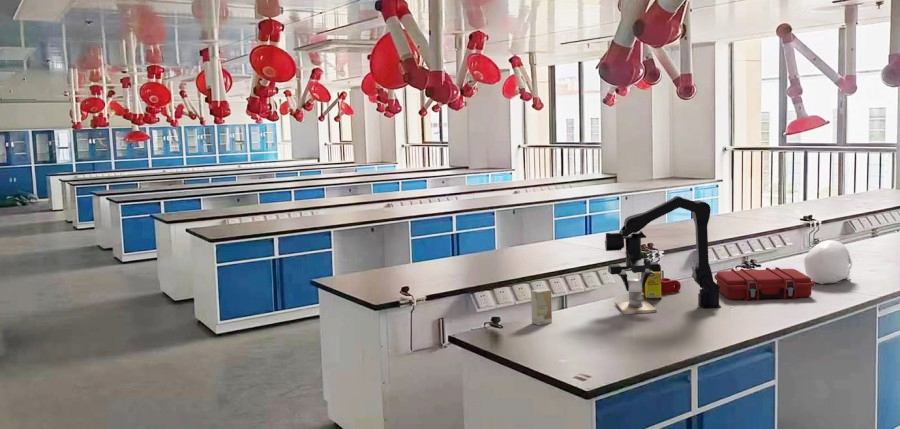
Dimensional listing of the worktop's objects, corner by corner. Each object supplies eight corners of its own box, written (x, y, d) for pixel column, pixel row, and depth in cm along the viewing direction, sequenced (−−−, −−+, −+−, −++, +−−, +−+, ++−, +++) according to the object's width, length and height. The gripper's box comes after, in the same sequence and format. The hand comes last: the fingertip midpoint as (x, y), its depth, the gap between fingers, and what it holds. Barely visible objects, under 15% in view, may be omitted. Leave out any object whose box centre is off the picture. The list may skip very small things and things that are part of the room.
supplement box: (661, 299, 290) (661, 272, 289) (646, 299, 291) (645, 272, 290) (660, 296, 296) (659, 269, 294) (645, 296, 297) (644, 269, 296)
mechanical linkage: (669, 288, 308) (669, 277, 308) (680, 291, 302) (680, 279, 301) (638, 294, 302) (637, 282, 302) (648, 297, 296) (648, 285, 295)
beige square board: (646, 303, 285) (645, 285, 285) (656, 312, 271) (656, 293, 271) (615, 305, 285) (614, 287, 285) (624, 314, 272) (623, 295, 271)
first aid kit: (794, 286, 299) (794, 265, 298) (816, 299, 276) (816, 277, 275) (713, 289, 303) (712, 268, 302) (728, 302, 280) (727, 280, 279)
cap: (627, 289, 281) (627, 278, 280) (641, 288, 280) (641, 278, 279) (628, 292, 276) (627, 281, 275) (642, 291, 275) (642, 281, 274)
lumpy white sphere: (864, 269, 306) (852, 230, 295) (848, 304, 296) (835, 266, 286) (824, 265, 317) (811, 228, 307) (808, 299, 308) (794, 262, 298)
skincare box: (538, 325, 263) (536, 292, 262) (531, 323, 267) (529, 290, 266) (553, 322, 266) (551, 289, 265) (546, 320, 270) (544, 287, 269)
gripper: (613, 255, 268) (615, 296, 270) (664, 251, 268) (665, 293, 270) (606, 250, 279) (608, 290, 281) (655, 247, 279) (657, 287, 281)
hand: (634, 290), depth 278 cm, fingers closed on cap, 5 cm apart
